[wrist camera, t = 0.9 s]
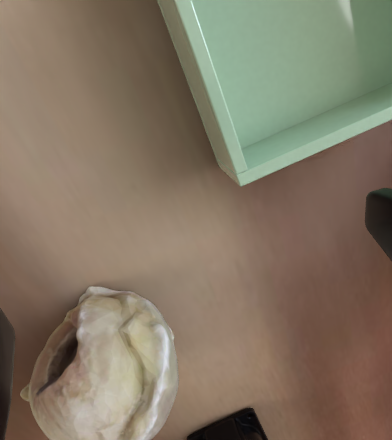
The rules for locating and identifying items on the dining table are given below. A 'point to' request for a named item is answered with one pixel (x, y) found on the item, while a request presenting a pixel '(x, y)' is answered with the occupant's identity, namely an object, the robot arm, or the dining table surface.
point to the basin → (282, 75)
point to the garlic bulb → (105, 371)
